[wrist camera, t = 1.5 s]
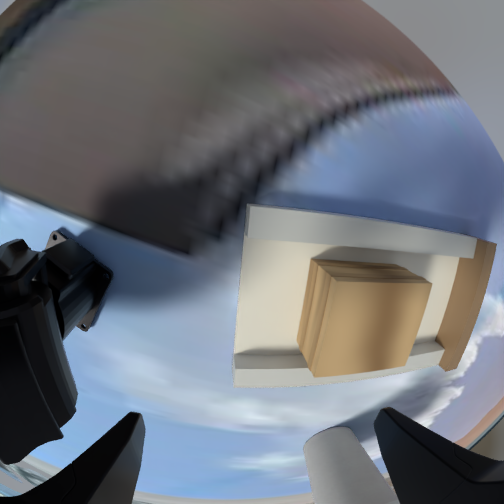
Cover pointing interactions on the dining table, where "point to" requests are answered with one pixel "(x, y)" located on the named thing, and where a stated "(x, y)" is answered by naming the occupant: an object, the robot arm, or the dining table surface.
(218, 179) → the dining table surface
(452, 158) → the dining table surface
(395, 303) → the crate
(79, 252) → the robot arm
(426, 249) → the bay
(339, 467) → the coffee cup
